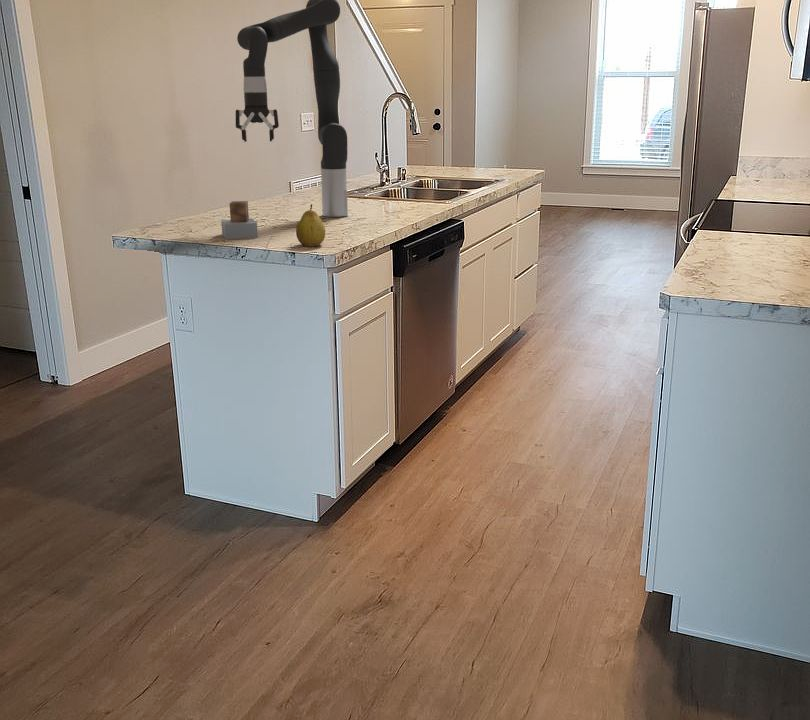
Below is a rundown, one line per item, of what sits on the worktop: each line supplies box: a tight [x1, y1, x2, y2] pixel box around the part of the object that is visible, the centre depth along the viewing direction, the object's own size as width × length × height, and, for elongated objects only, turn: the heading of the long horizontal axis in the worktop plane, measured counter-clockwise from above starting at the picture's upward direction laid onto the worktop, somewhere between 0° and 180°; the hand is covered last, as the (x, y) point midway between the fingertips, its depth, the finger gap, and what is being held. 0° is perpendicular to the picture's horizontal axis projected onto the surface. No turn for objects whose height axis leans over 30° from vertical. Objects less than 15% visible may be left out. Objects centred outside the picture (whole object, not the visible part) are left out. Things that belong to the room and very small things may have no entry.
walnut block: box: [229, 200, 250, 222], centre depth 268 cm, size 5×5×6 cm
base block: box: [220, 218, 259, 240], centre depth 269 cm, size 10×10×5 cm
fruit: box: [295, 203, 327, 247], centre depth 252 cm, size 9×9×12 cm
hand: (258, 141), depth 284 cm, fingers open, 8 cm apart
